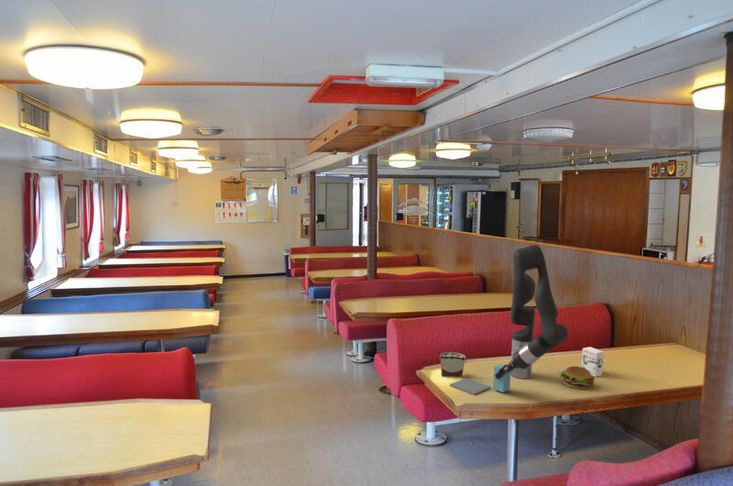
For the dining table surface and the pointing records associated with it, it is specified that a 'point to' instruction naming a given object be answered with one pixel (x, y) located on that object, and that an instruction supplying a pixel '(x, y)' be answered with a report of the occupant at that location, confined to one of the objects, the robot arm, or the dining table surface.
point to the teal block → (501, 380)
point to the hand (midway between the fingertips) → (500, 375)
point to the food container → (452, 364)
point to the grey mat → (470, 386)
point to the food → (577, 377)
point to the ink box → (592, 360)
